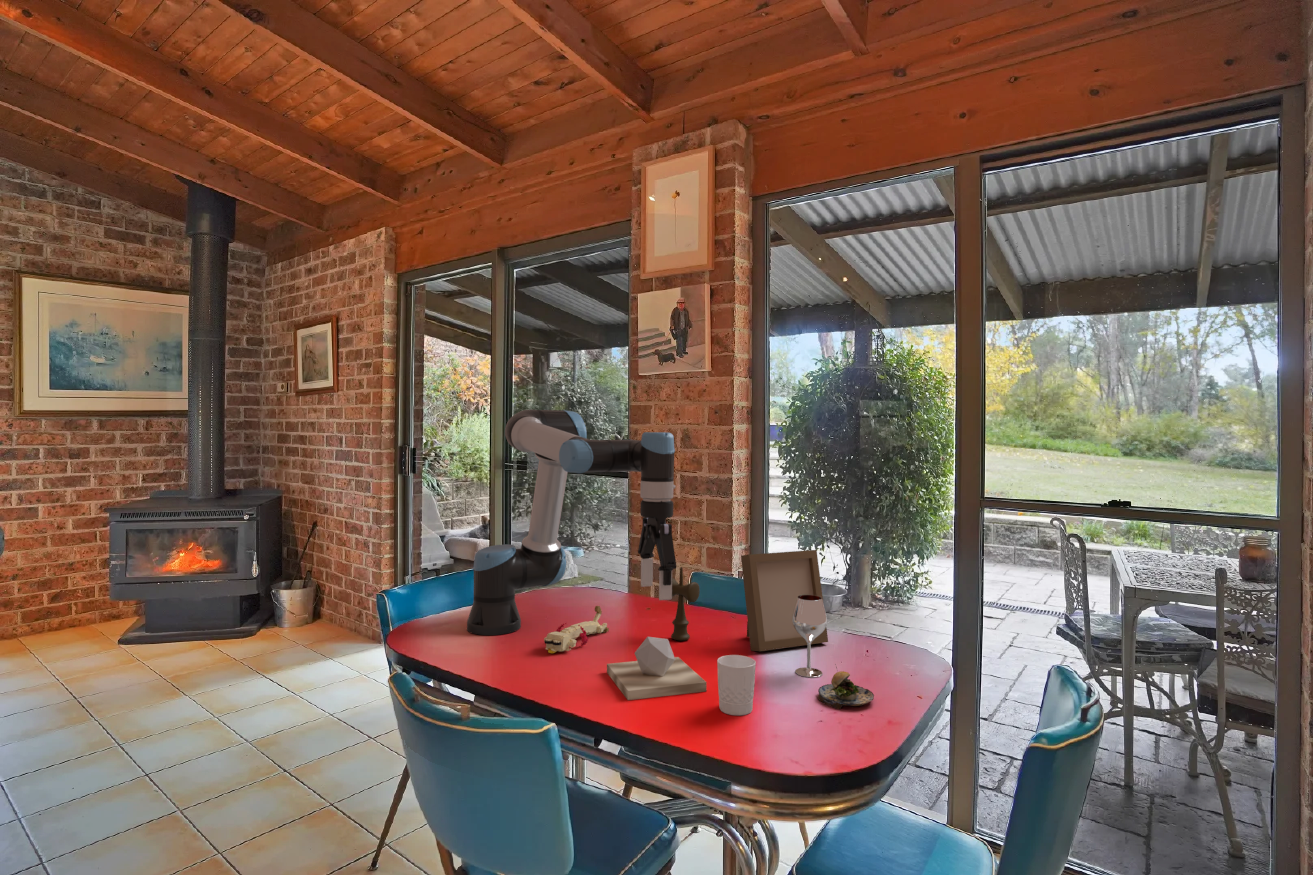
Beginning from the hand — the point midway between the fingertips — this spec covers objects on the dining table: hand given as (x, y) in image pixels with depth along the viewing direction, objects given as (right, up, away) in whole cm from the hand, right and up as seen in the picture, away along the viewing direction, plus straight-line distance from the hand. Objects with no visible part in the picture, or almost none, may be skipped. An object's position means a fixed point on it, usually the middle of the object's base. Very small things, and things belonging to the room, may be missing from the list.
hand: (655, 592), depth 158 cm
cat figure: (-22, -20, +29) cm, 41 cm away
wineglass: (+36, -21, +7) cm, 43 cm away
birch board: (0, -20, 0) cm, 20 cm away
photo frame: (+34, -21, +31) cm, 50 cm away
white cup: (+17, -21, -16) cm, 31 cm away
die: (0, -19, 0) cm, 19 cm away
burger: (+41, -21, -10) cm, 47 cm away
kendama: (+7, -20, +33) cm, 39 cm away
